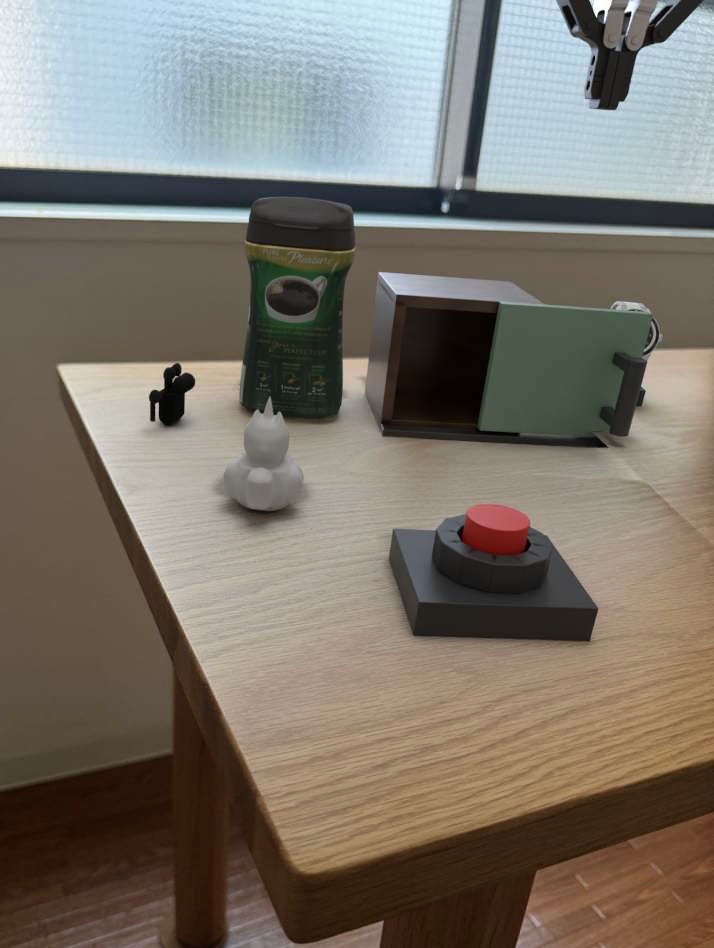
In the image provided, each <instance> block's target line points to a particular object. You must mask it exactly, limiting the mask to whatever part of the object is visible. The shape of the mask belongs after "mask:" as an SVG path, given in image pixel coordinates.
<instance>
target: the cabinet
mask: <svg viewBox="0 0 714 948" xmlns="http://www.w3.org/2000/svg"><path fill="white" fill-rule="evenodd" d="M374 299H375V300H374V308H373V318H372V326H371V335H370V343H369V344H370V345H369V353H368V362H367V371H366V379H365V387H364V394H365V397H366V399H367V402H368V404H369V406H370V409H371V411H372V414H373V416H374V418H375V421H376V423H377V426H378V428H379V430H380V433H381V435H382V437H395V438H398V437H399V438H413V439H414V438H415V439H432V440H449V441H450V440H452V441H467V442H468V441H469V442H487V443H488V442H489V443H503V444H504V443H505V444H506V443H507V444H523V445H524V444H527V445H543V446H558V447H559V446H563V447H576V448H577V447H579V448H598V449H599V448H600V449H610V446H608V445H607V444H606V443H605V442H604V441H603V440H602V439H601V438H599V437H598V436H597V437H587V436H569V435H551V434H533V433H515V432H497V431H480V430H479V428H478V427H477V426H478V421H479V415H480V409H481V404H482V398H483V392H484V387H485V381H486V376H487V370H488V364H489V359H490V353H491V348H492V342H493V336H494V331H495V325H496V319H497V314H498V308H499V303H500V301H501V302H515V303H529V304H544V305H546V304H545V303H544V302H542V301H541V300H539V299H538V298H536V297H535V296H533V295H532V294H530V293H528V292H527V291H525V290H524V289H522V288H521V287H519V286H518V285H517V284H515V283H514V282H511V281H507V280H495V279H480V278H467V277H452V276H442V275H441V276H439V275H425V274H414V273H413V274H411V273H397V272H387V271H386V272H384V271H379V272H378V274H377V281H376V291H375V298H374Z"/></svg>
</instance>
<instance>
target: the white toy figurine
mask: <svg viewBox="0 0 714 948" xmlns="http://www.w3.org/2000/svg"><path fill="white" fill-rule="evenodd" d="M290 433H291V432H290V429H289V427H288V425H287V424H286V422H285V418H283V416H282V414H281V412H278V413H277V415H273V408H272V402H271V398H270V397H269V399H268V401H267V404H266V407H265V410H264V413H263V414H261V413H260V411H259V410H256V411H255V413H253V415H252V416H251V418H250V420H249V422H248V423H247V424H246V426H245V427H244V434H243V448H244V451H243V452H242V453H241V454H240V455H238V456H236V457H234V458H231V460H230V461H229V463H228V464H227V465H226V468H225V470H224V471H223V487H224V492H225V493H226V495H227V497H228V498H230V499H231V500H235V501H236V502H237V503H238V504H240V505H241V506H243V507H244V508H247V509H250V510H254V511H262V512H263V511H264V512H275V511H280V510H283V509H285V508H287V506H292V505H294V504H295V503H297V502H298V500H299V499H300V497H301V495H302V494H301V493H302V488H303V484H304V480H305V479H304V478H305V477H304V476H305V475H304V473H303V470H302V468H301V467H300V465H298V464H297V463H296V462H295V461H294V460H293V457H292V456H291V455H289V454H287V453H288V451H289V447H290V436H291V434H290Z"/></svg>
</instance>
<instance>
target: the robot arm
mask: <svg viewBox="0 0 714 948" xmlns="http://www.w3.org/2000/svg"><path fill="white" fill-rule="evenodd" d="M555 1H556V4H557V6H558V9H559V10H560V13H561V15H562V17H563V20H564V22H565V24H566V26H567V29H568V31H569V33H570V35H571V37H573V38H575V39H579V40H581V41H583V42H584V43H586V44H587V45H588V46H589V48H590V52H591V53H590V59H589V64H588V69H587V74H586V78H585V82H584V83H585V84H584V88H583V94H584V100H588V108H589V109H591V110H602V111H616V110H617V109H618V107H619V104H620V103H624V102H625V101H626V99H627V97H628V95H629V91H630V88H631V83H632V78H633V74H634V69H635V64H636V60H637V57H638V54H639V52H640V51H641V50H642V49H644V48H646V47H649V46H653V45H655V44H662V43H665V42H666V41H667V40H668V39H669V38H670V37H671V36H672V35H673V33H675V32H676V30H677V29H678V28H680V26H681V25H682V24H683V23H684V22H685V21H686V20H687V19H688V17H690V16H691V15H692V13H694V12H695V10H696V9H697V8H698V7H699V6H700V5H701V4H702V3H703V2H704V1H705V0H668V1H666V3H665V4H664V5H663V6H662V7H661V8H660V9H659V11H657V13H656V14H655V15H654V16H653V17H651V16H652V15H653V14H654V12H655V10H656V9H657V6H658V2H659V0H593V1H594V2H593V6H592V3H591V1H590V0H555Z"/></svg>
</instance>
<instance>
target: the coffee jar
mask: <svg viewBox="0 0 714 948" xmlns="http://www.w3.org/2000/svg"><path fill="white" fill-rule="evenodd" d="M251 204H252V205H251V208H250V212H249V216H248V222H247V228H246V234H245V239H244V252H245V253H244V254H245V257H246V260H247V263H248V268H249V274H250V275H249V277H250V288H249V289H250V290H249V305H248V306H249V307H248V317H247V325H246V335H245V342H244V350H243V354H242V364H241V369H240V370H241V371H240V380H239V389H238V390H239V391H238V392H239V393H238V401H239V404H240V405H241V407H243V409H245V410H246V411H248V412H249V413H251V414H254V413H255V411H256V410H259V411H260V413H261V414H263V413H264V410H265V407H266V404H267V401H268V399H269V397H270V398H271V402H272V408H273V415H277V413H278V412H281V414H282V416H283V419H292V420H311V421H312V420H313V421H315V420H317V421H319V420H326V419H327V418H330V417H333V416H334V415H335V416H336V414H338V412H339V411H340V410H341V407H342V403H343V391H344V359H343V358H344V357H343V356H344V355H343V318H344V317H343V314H344V313H343V312H344V296H345V286H346V280H347V276H348V274H349V272H350V270H351V268H352V265H353V263H354V260H355V257H356V249H357V248H356V231H355V218H354V211H353V210H354V209H353V208H352V207H351V206H350V205H349V204H346V203H341V202H336V201H331V200H326V199H319V198H312V197H299V196H269V197H268V196H267V197H261V198H258V199H255V201H254V202H253V203H251Z"/></svg>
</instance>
